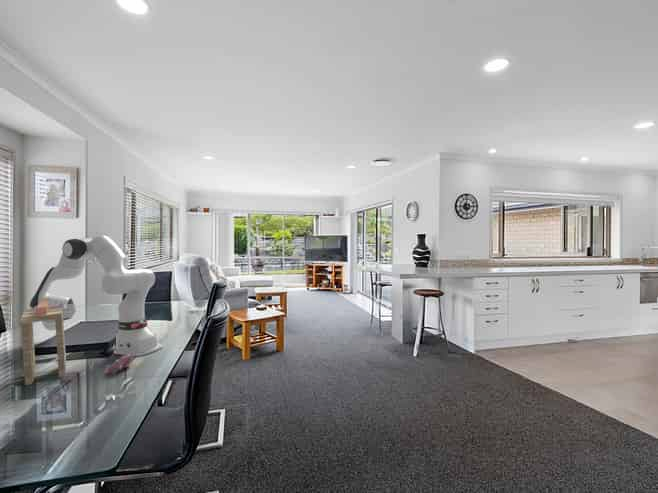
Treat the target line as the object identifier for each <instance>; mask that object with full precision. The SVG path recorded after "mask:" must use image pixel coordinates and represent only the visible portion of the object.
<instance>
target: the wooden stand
mask: <svg viewBox="0 0 658 493" xmlns="http://www.w3.org/2000/svg"><path fill="white" fill-rule="evenodd" d="M53 319H55V324H56V330H55V337H56V338H55V339H56V351H57V352H56V353H57V354H56V355H57V367H58V368H57V370H58V379H60V378H65V377H66V370H67V359H66V358H67V357H66V342H65V341H66V340H65V326H64V322H63V306H62V307H53V308H49V310H48V312H47V314H44V315H37V311H36V310H29V311H25V312H24V314H23V313H22V315H21V317H20V319H19V323H20V327H21V328H20V330H21V342H22V343H21V345H22V356H23V370H24V373H23V374H24V386H29V385H32V384H33V383H34V380H35V377H36V372H37V371H36V370H37V367H36V354H35V340H34V324H33V323H38V322H42V321H46V320H53Z"/></svg>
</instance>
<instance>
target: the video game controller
mask: <svg viewBox="0 0 658 493" xmlns="http://www.w3.org/2000/svg"><path fill="white" fill-rule="evenodd" d="M134 360H135V356H132V355H130V354H128V355H121V356H120V357H119V358H118V359H116V360H115V361H114V362H113V363H112V364H111V365H110V366H108V368H107V369H106V370H107V373H108V374H112V372H113V373H114V372H115V371H117V370H118V372H120V371H119V370H121V369H122V370H123V368H124V369H126V368H125V367H127V368H128V367H129V366H130V364H131V363H132V362H134ZM122 370H121V371H122Z"/></svg>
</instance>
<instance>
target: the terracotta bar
mask: <svg viewBox="0 0 658 493" xmlns="http://www.w3.org/2000/svg"><path fill="white" fill-rule="evenodd" d="M49 307H50V298H46V299H41V300H40V302H39V304H38V306H37V307H36V311H37V315H44V314H47V312H48V310H49Z"/></svg>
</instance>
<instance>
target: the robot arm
mask: <svg viewBox="0 0 658 493" xmlns="http://www.w3.org/2000/svg"><path fill="white" fill-rule="evenodd" d="M61 250H62V253H61V255H60V259H59V262H58V264H57V265H56V266H53V267H51V268H49V270H48V271H47V272H46V273H45V274H44V278H42V281H41V282H40V284H39V286H38V288H37V290H36V291H35V293H34V294H33V296H32V297H31V299H30V301H29V307H30V308H26V309H23V310H22V315H23V314H24V312H25V311H29V310H36V307H37V306H38V304H39V302H40V300H41V299H46V298H50V307H49V308H53V307H62V306H63V323H64V322H65V321H67V320H71V319H73V317H74V315H75V314H76V312H77V311H76V303H74V301H73V299H72V298H71V297H69V296H63V295H59V294H57V295H56V294H53V293H49V292H48V291H49V289H50V287H51V286H52V283H54V282H55V281H62V280H71V279H75V278H77V277H80V275H81V274H82V273H83V272H84V269H85V266H86V264H87V263H86V262H87V260H95V259H96V260H97V261H98V263H99V264H100V265H101V267H102V268H103V270H104V271H105V275H104V276H103V277H102V280H101V289H102V291H103V292H104V293H105V294H107V295H123V294H124V295H125V294H126V296H125V298H124V299H123V300H122V301H121V302H120V303H119V304H118V308H117V309H118V310H117V311H118V312H117V313H118V321H117V329H118V332H117V333H116V337H115V349H114V350H113V354H114V355H115V354H116V355H121V356H124V355H128V354H130V355H132V356H134V357H140V356H145V355H149V354H151V353H153V352H156V351H159V350H161V349H162V348H164V345H163V344H162V343H159V342H158V337H157V335H158V334H157V332H153V330H152V329H150V328H149V326H148V323H149V322H148V320H147V318H146V317H145V303H146V298H147V295H148V293H149V291H150V290H151V288H152V287H153V286H154V285H155V282H156V275H155V272H154V271H153V270H152V269H149V268H134V269H127V268H125V267H126V266H127V265H128V262H129V261H128V257H127V255H126V254H125V253H124V251H122V249H121V248H120V247H119V245H118V244H117V243H116V242H115V241H113V239H112V238H110V237H109V236H108V235H104V234H103V235H102V234H101V235H96V236H95V237H93V238H92V237H87V238H86V237H82V238H80V237H79V238H71V239H67V240H66V241H64V243H63V245H62V248H61ZM41 322H42V326H43V327H44V328H45V329H46V330H49V331H56V324H55V319H53V320H46V321H41Z"/></svg>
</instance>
